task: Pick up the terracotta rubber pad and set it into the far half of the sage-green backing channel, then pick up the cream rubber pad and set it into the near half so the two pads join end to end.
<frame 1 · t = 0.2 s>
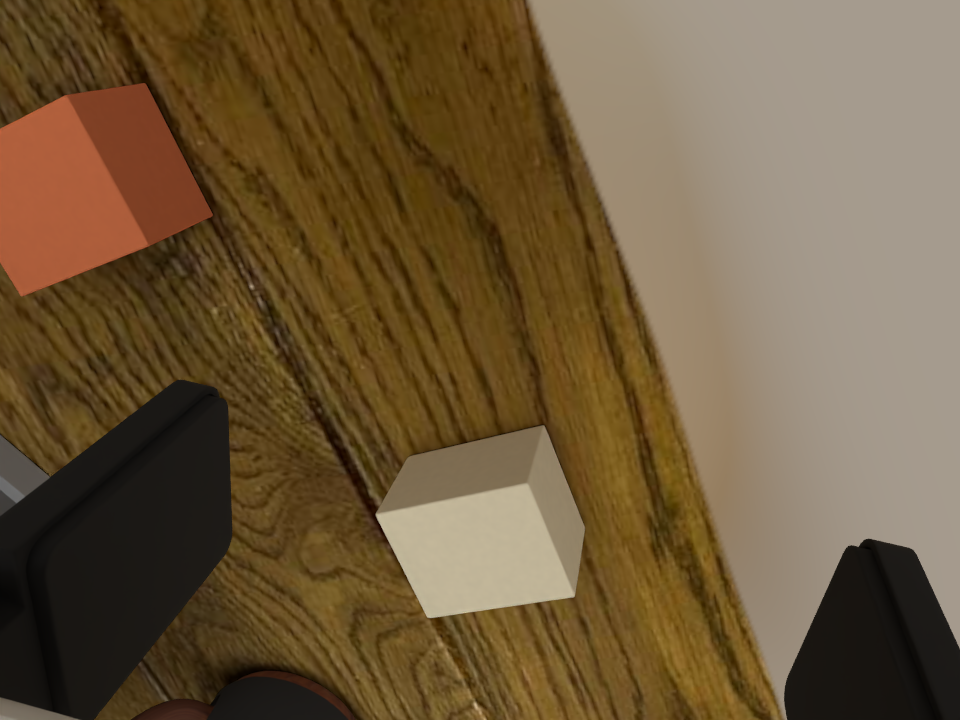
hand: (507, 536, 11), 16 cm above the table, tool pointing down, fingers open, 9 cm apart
terracotta pad: (119, 178, 28), on the table
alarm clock: (12, 588, 40), on the table
cream pad: (496, 491, 30), on the table
mug: (270, 702, 40), on the table
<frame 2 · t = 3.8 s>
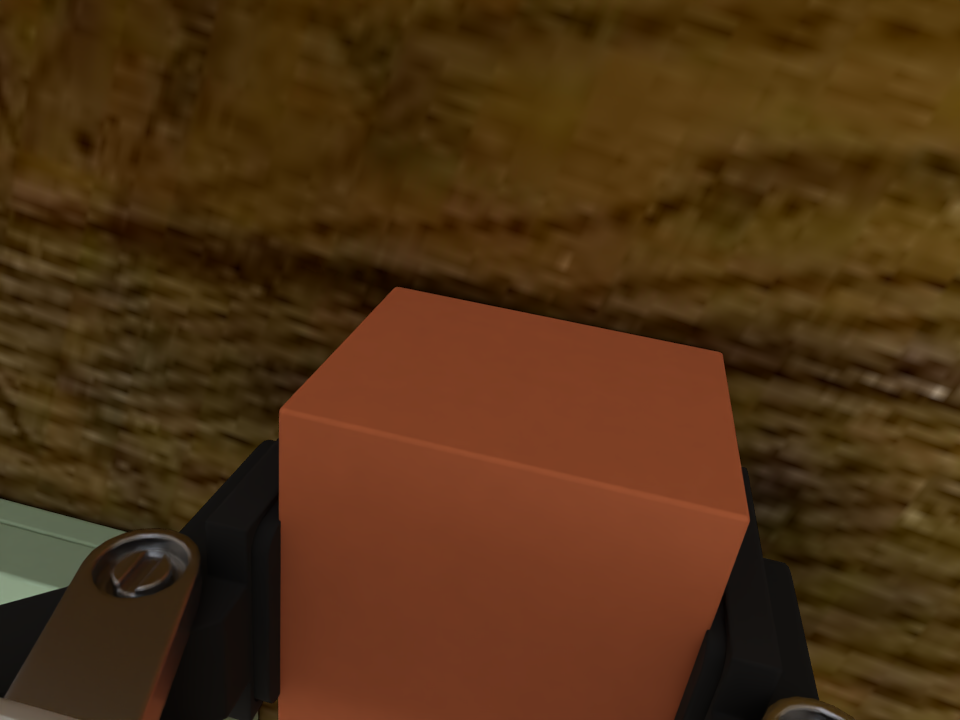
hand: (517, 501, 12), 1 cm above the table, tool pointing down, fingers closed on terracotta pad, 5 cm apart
terracotta pad: (524, 479, 13), on the table, touching gripper
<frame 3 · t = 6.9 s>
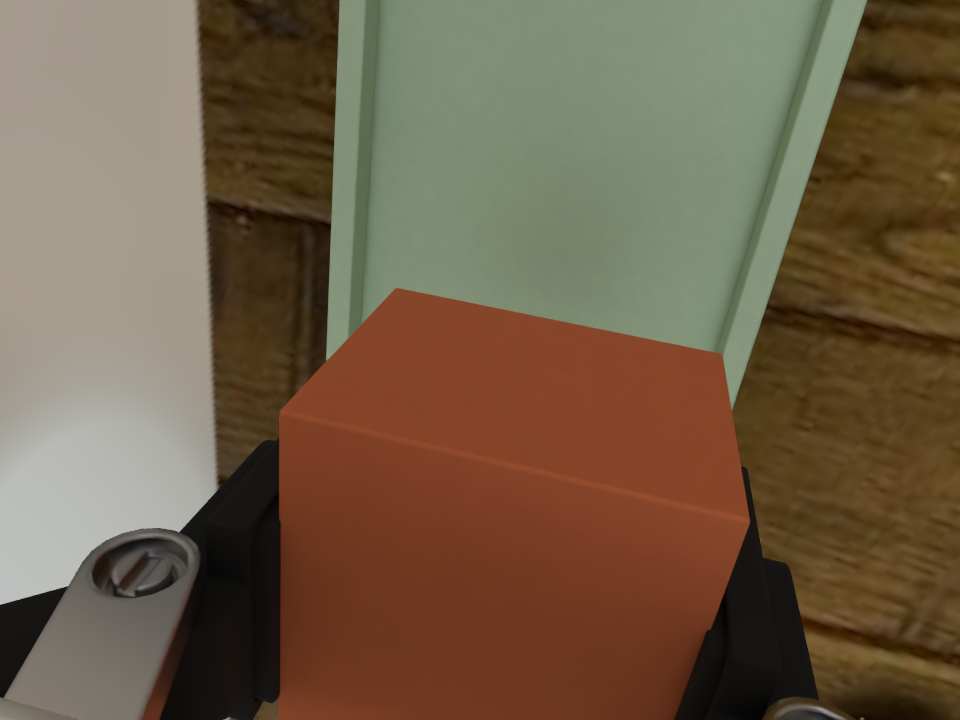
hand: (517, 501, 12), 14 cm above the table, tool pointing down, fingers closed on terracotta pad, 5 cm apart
terracotta pad: (524, 480, 13), point 13 cm above the table, touching gripper
backing channel: (557, 190, 24), on the table
when the fingers open (1 cm above the table, at t = 10.2 s): terracotta pad stays where it is, resting on backing channel.
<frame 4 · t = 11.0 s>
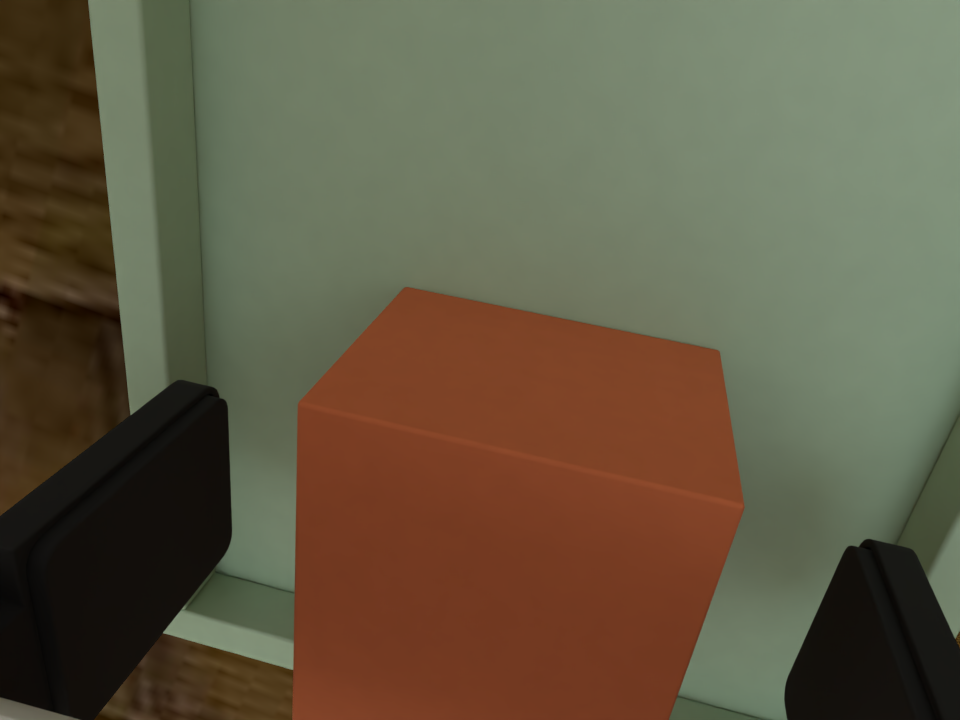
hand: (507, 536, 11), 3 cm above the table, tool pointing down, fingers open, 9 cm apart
terracotta pad: (528, 473, 13), point 1 cm above the table, touching backing channel
backing channel: (566, 271, 12), on the table
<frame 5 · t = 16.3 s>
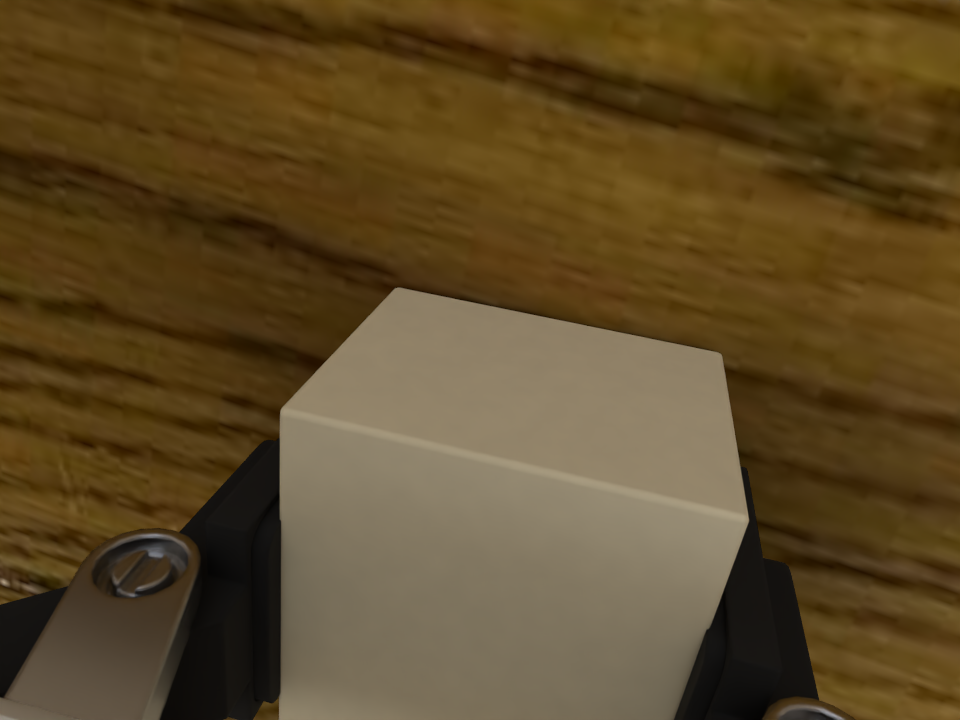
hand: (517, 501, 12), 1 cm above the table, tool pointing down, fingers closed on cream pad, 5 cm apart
cream pad: (524, 479, 13), on the table, touching gripper
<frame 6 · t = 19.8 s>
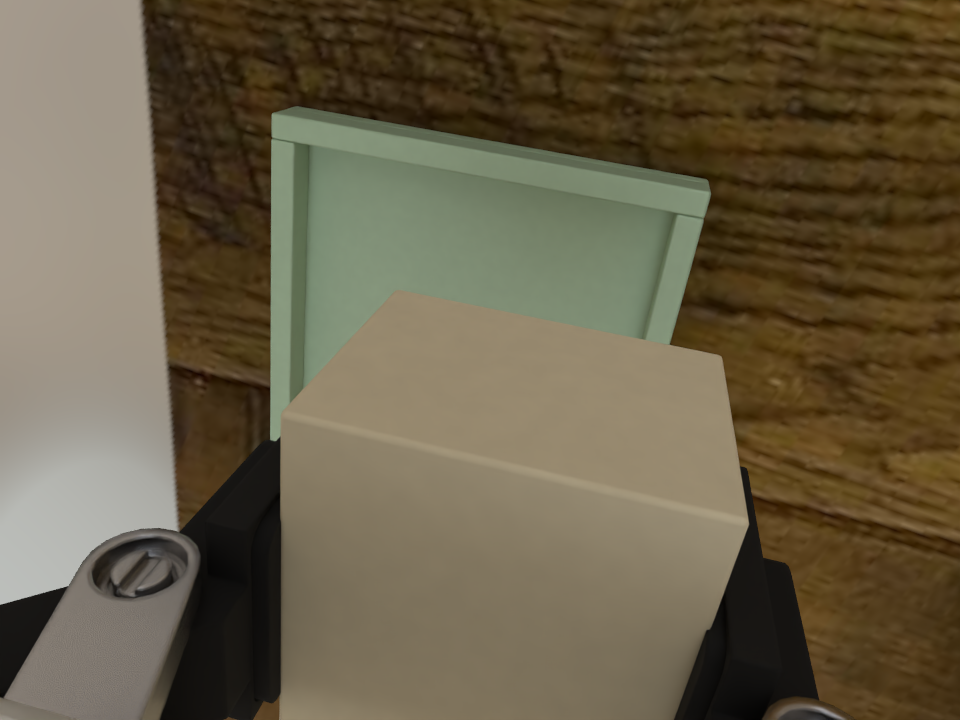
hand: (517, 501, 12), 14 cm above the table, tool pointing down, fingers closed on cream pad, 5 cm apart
cream pad: (524, 481, 13), point 14 cm above the table, touching gripper
backing channel: (462, 374, 28), on the table
when the fingers open (1 cm above the table, at t = 23.5 s): cream pad stays where it is, resting on backing channel.
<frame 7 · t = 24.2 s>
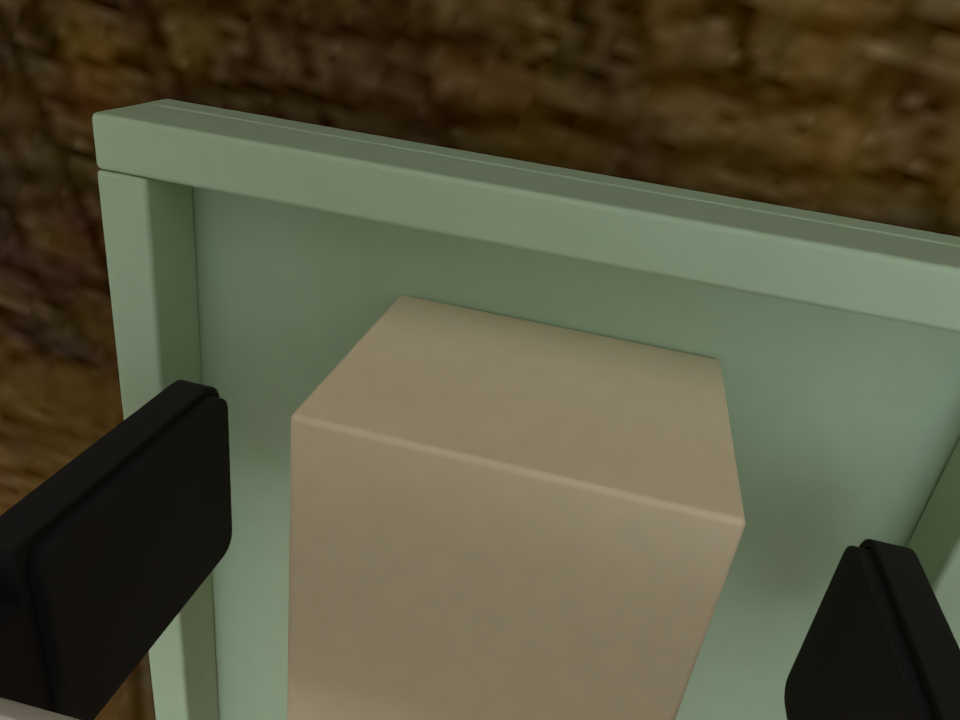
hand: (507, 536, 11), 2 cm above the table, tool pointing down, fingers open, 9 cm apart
cream pad: (526, 483, 13), point 1 cm above the table, touching backing channel
backing channel: (505, 601, 15), on the table
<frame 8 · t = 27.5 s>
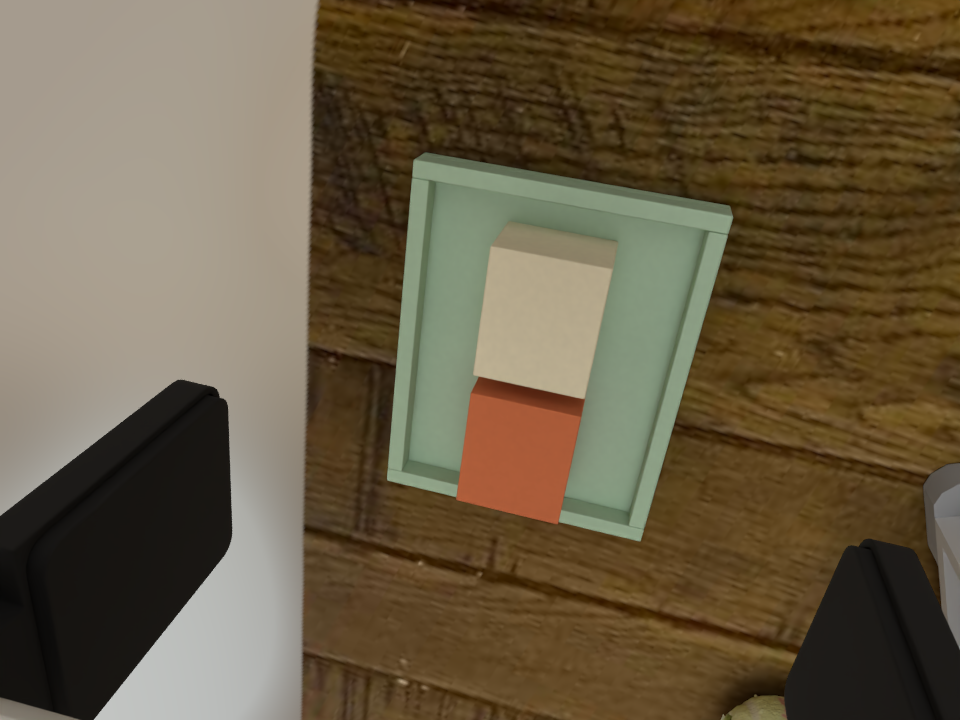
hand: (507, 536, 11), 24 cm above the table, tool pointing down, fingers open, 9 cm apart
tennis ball: (772, 708, 43), on the table
terracotta pad: (529, 418, 38), point 1 cm above the table, touching backing channel
cream pad: (551, 292, 35), point 1 cm above the table, touching backing channel
backing channel: (541, 350, 37), on the table
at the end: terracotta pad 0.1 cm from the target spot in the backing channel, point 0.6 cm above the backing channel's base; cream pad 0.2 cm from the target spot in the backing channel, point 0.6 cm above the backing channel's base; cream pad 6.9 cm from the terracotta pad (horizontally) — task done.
